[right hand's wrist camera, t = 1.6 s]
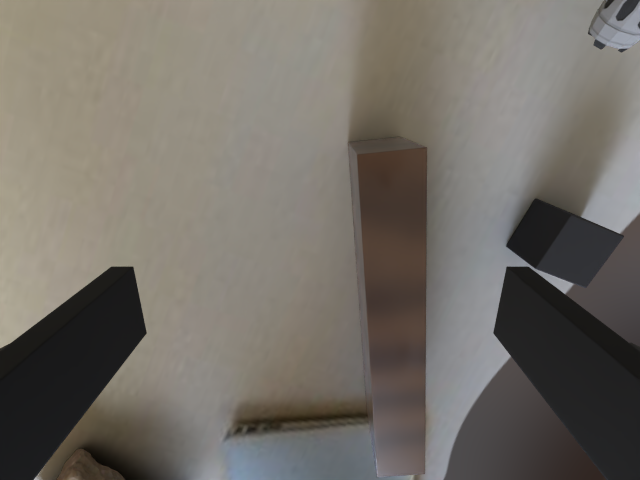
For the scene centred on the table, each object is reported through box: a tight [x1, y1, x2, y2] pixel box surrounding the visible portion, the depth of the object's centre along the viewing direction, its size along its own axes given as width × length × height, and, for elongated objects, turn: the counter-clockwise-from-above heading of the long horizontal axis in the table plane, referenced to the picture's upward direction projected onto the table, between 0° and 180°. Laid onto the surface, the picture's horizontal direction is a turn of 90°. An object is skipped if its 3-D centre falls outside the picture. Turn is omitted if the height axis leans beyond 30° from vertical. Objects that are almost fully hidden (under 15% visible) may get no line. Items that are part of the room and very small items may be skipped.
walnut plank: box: [348, 137, 427, 477], centre depth 32 cm, size 30×4×8 cm, turn 6°
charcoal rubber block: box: [506, 199, 624, 288], centre depth 31 cm, size 5×5×5 cm
